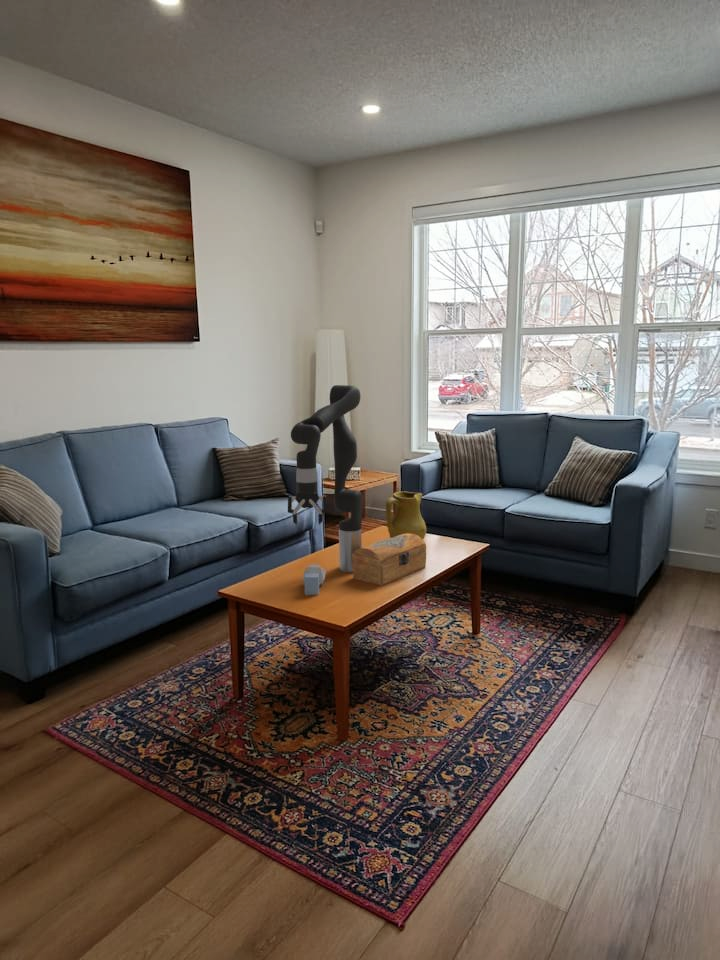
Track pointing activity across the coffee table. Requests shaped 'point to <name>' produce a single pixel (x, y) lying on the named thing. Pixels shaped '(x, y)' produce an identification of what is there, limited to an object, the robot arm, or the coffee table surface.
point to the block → (311, 583)
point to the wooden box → (389, 559)
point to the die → (315, 569)
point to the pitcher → (405, 515)
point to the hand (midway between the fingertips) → (307, 523)
